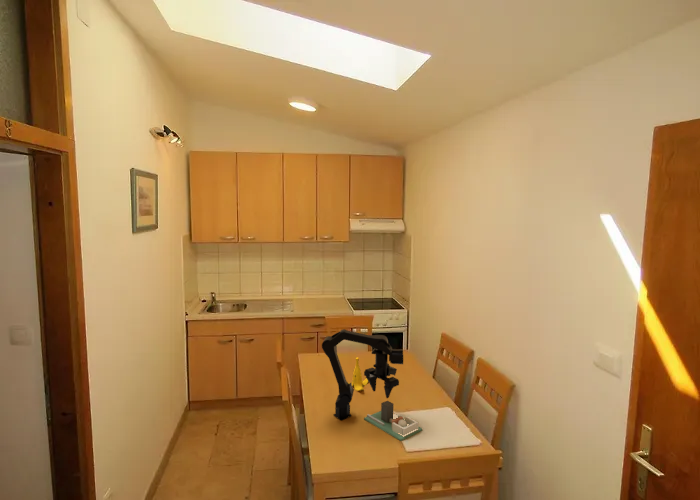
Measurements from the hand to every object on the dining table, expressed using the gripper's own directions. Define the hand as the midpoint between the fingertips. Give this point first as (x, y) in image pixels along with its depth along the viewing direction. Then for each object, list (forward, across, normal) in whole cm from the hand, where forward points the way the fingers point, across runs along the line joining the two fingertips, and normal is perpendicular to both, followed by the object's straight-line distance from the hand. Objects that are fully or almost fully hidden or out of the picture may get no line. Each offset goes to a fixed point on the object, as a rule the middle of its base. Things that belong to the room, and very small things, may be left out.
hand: (380, 394), depth 197 cm
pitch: (+12, -8, 0) cm, 14 cm away
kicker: (+11, -7, 0) cm, 13 cm away
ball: (+9, -14, 0) cm, 17 cm away
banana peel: (+12, +35, -17) cm, 41 cm away
